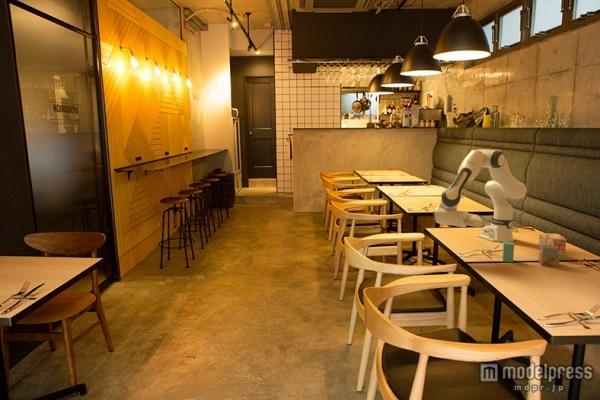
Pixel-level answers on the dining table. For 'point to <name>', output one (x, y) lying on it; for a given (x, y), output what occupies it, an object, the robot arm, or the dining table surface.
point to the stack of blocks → (554, 243)
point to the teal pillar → (508, 251)
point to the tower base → (548, 261)
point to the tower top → (549, 251)
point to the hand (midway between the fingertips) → (489, 222)
